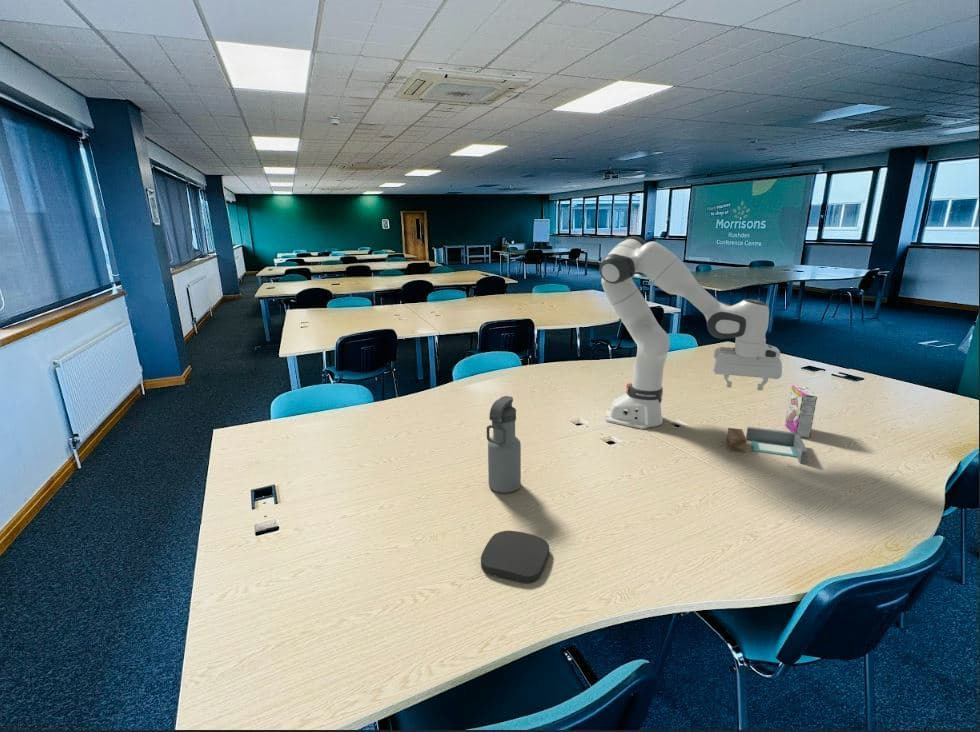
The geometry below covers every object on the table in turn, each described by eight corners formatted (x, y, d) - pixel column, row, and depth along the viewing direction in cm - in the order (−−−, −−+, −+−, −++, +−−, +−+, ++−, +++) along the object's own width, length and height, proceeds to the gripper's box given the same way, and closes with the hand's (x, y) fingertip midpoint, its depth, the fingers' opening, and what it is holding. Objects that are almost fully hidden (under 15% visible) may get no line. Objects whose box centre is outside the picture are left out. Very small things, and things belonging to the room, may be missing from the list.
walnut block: (730, 451, 168) (731, 438, 166) (726, 440, 176) (728, 427, 174) (744, 453, 166) (746, 439, 165) (740, 442, 174) (742, 429, 173)
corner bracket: (749, 456, 164) (751, 444, 162) (745, 438, 177) (747, 426, 176) (805, 464, 158) (807, 451, 157) (796, 444, 171) (798, 433, 170)
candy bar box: (783, 425, 187) (790, 384, 182) (798, 426, 186) (805, 385, 181) (795, 437, 177) (802, 395, 172) (810, 438, 176) (818, 396, 171)
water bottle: (509, 498, 142) (509, 409, 133) (481, 489, 147) (479, 402, 138) (526, 482, 150) (526, 397, 142) (499, 474, 155) (498, 392, 147)
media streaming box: (475, 572, 113) (475, 562, 112) (497, 535, 126) (497, 525, 125) (536, 588, 108) (536, 577, 107) (552, 548, 121) (552, 537, 120)
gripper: (715, 348, 162) (710, 388, 166) (785, 353, 154) (779, 394, 158) (714, 344, 167) (710, 382, 171) (782, 348, 160) (776, 388, 164)
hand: (744, 388), depth 165 cm, fingers open, 8 cm apart
